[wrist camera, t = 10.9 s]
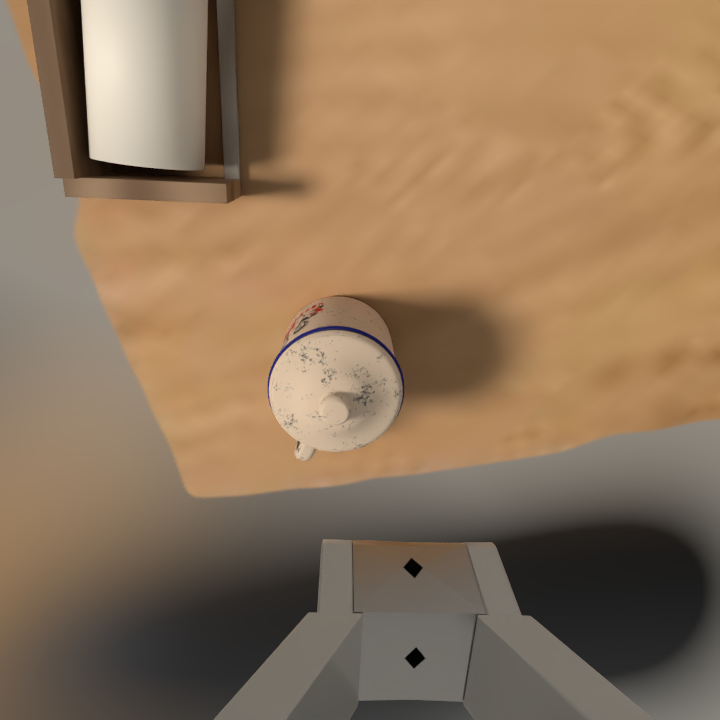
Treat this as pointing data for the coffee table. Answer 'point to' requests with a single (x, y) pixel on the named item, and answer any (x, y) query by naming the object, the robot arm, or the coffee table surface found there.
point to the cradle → (69, 114)
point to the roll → (146, 81)
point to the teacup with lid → (335, 377)
